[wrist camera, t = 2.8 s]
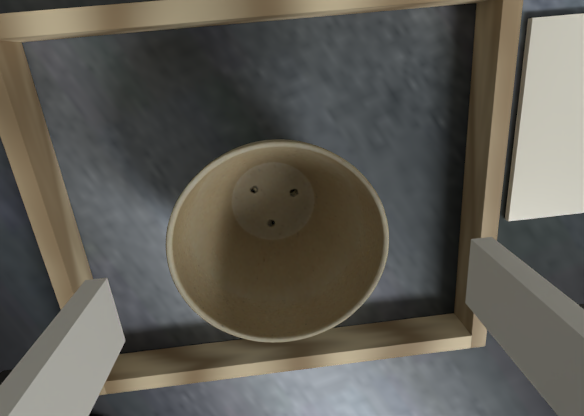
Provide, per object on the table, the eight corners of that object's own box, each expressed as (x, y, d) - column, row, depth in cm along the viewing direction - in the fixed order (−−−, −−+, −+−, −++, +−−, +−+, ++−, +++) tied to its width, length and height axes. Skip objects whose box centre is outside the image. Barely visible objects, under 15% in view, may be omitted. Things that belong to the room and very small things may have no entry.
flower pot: (206, 280, 26) (188, 356, 19) (176, 127, 22) (141, 155, 16) (356, 261, 26) (390, 330, 20) (350, 109, 23) (389, 129, 16)
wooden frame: (105, 367, 28) (90, 396, 25) (-6, 22, 20) (-41, 17, 17) (466, 323, 29) (485, 346, 26) (496, -20, 21) (526, -30, 19)
